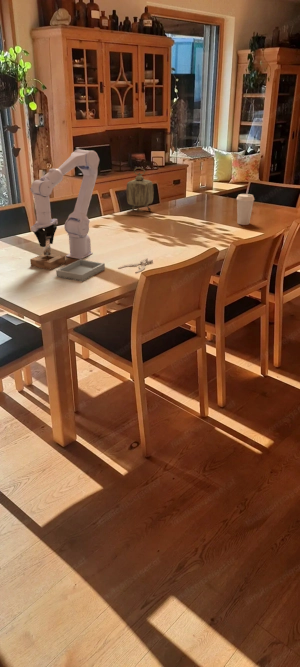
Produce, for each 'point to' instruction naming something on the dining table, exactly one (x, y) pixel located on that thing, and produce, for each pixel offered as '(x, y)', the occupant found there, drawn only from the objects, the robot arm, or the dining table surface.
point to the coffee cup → (244, 208)
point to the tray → (80, 270)
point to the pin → (47, 245)
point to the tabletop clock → (139, 191)
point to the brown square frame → (47, 261)
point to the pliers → (142, 263)
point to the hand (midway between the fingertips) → (46, 245)
